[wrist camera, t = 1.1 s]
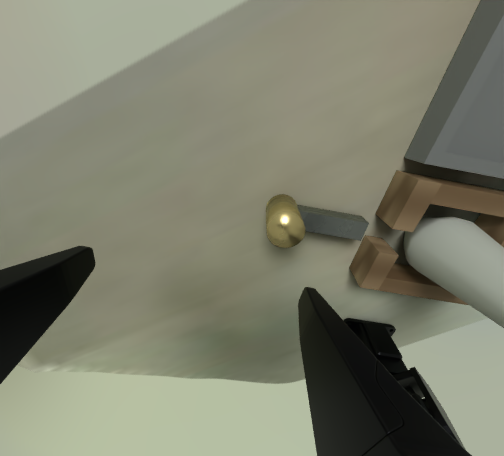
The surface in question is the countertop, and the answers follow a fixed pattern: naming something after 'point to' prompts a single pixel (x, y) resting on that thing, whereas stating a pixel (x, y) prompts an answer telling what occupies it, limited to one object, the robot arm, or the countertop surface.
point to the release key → (307, 222)
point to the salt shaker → (460, 262)
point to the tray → (469, 102)
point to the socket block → (407, 218)
